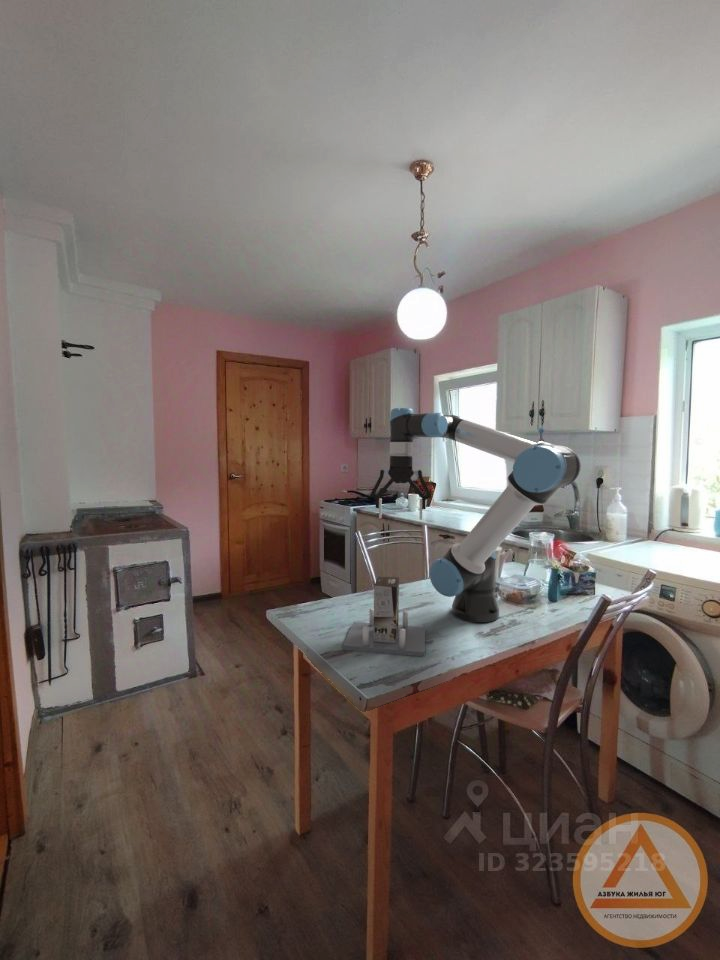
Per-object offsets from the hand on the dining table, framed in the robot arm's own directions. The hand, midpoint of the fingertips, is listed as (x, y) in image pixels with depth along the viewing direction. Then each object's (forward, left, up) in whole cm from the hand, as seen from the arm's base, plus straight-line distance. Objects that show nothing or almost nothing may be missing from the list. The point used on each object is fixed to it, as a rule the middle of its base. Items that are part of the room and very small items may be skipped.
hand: (400, 518), depth 149 cm
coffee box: (+2, +25, -30) cm, 39 cm away
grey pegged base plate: (+2, +25, -31) cm, 40 cm away
